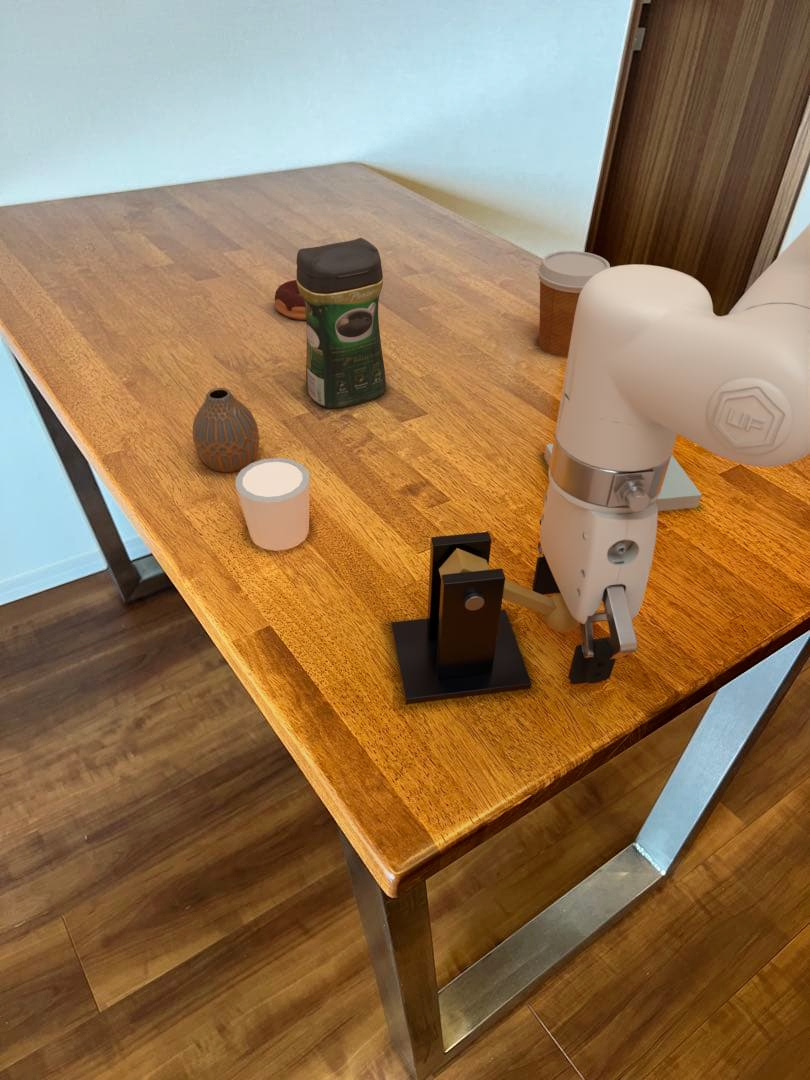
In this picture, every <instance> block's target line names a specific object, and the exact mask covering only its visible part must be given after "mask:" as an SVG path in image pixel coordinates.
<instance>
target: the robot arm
mask: <svg viewBox="0 0 810 1080" xmlns="http://www.w3.org/2000/svg"><path fill="white" fill-rule="evenodd" d="M713 305H714V304H713V301H712V297H711V294H710V292H709V291H708V289H707V288H706V286H704V285H703V284H702V283H701V282H700V281H699V280H698V279H696V278H694V276H692V275H689V274H687V273H684V272H682V271H679V270H676V269H672V268H669V267H665V266H659V265H652V264H638V263H637V264H635V263H634V264H623V265H615V266H610V268H608V269H605V270H603V271H601V272H599V273H597V274H595V275H594V276H593V277H592V278H590V279H589V280H588V281H587V283H586V284H585V286H584V287H583V289H582V291H581V293H580V295H579V298H578V302H577V307H576V311H575V317H574V323H573V329H572V335H571V341H570V347H569V353H568V357H567V360H566V365H565V371H564V378H563V383H562V390H561V397H560V402H559V407H558V414H557V419H556V425H555V429H554V430H555V431H554V437H553V443H552V444H553V448H552V454H551V460H550V466H548V471H547V472H548V474H547V475H548V480H549V483H548V487H547V489H546V490H543V491H542V515H541V516H540V517H541V518H540V520H539V526H540V529H539V541H538V542H537V552H538V555H539V556H538V557H537V558H536V564H535V568H534V569H535V570H534V575H533V581H532V587H531V588H532V589H531V590H532V591H534V592H537V593H539V594H542V595H544V596H545V595H551V594H552V595H554V594H557V593H561V594H562V596H563V599H564V601H565V603H566V605H567V607H568V609H569V611H570V613H571V615H572V616H573V617H574V618H575V619H576V620H577V621H578V622H579V623H580V626H579V635H580V643H579V644H577V645H576V646H575V648H574V651H573V656H572V660H571V664H570V669H569V673H568V681H569V683H570V684H571V685H578V684H579V685H580V684H590V685H591V684H592V685H593V684H598V683H601V682H603V681H608V680H609V679H610V678H611V675H612V673H613V669H614V666H615V663H616V660H617V659H623V658H628V656H630V655H631V654H633V653H635V652H636V651H637V650H638V648H639V646H638V645H639V644H638V640H637V636H636V632H635V627H634V623H633V620H634V619H635V618H636V617H637V616H638V615H639V613H640V610H641V607H642V604H643V601H644V597H645V594H646V591H647V590H646V589H647V586H648V581H649V579H650V573H651V569H652V564H653V560H654V554H655V547H656V543H657V542H656V541H657V532H658V519H659V518H658V516H659V511H658V508H657V505H656V503H655V501H656V500H657V498H658V496H659V495H660V492H661V488H662V485H663V482H664V479H665V475H666V472H667V469H668V465H669V462H670V459H671V455H673V452H674V448H675V443H676V441H677V437H678V435H679V436H681V437H683V438H684V439H686V440H688V441H690V442H691V443H693V444H695V445H697V446H698V447H700V448H703V449H704V450H706V451H708V452H710V453H711V454H714V455H716V456H719V457H721V458H723V459H725V460H728V461H730V462H734V463H735V464H736V463H737V464H740V465H744V466H748V467H753V468H775V467H782V466H785V465H790V464H792V463H795V462H797V461H799V460H801V459H803V458H805V457H807V456H808V455H810V223H809V224H808V225H807V226H806V227H805V228H804V229H803V231H801V232H800V233H799V235H798V236H796V237H795V239H793V241H792V242H791V243H790V244H789V245H788V246H787V247H786V248H785V249H784V250H783V251H782V252H781V253H780V254H779V255H778V257H777V258H776V259H775V260H774V261H772V263H771V264H770V265H769V266H768V267H767V268H766V269H765V270H764V271H763V272H762V273H761V274H760V275H759V277H758V278H757V279H756V280H755V281H754V282H753V283H752V284H751V285H750V286H749V287H748V289H747V290H746V291H745V292H744V293H743V295H742V296H741V297H740V298H739V299H738V301H737V302H736V303H735V305H733V307H732V308H731V310H729V313H728V314H725V315H722V316H720V315H717V314H715V313H714V306H713ZM602 604H603V608H604V609H602V610H599V608H600V607H601V605H602ZM597 622H599V623H600V622H607V625H608V633H609V635H608V637H600V638H594V631H593V623H597Z"/></svg>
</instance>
